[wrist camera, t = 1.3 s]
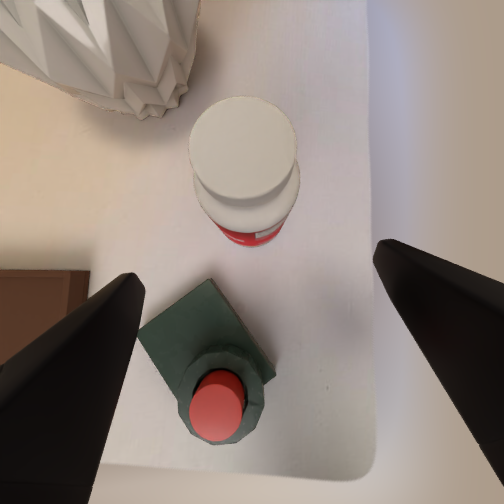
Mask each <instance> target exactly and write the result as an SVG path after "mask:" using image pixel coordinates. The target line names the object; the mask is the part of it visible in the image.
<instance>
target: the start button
mask: <svg viewBox="0 0 504 504" xmlns="http://www.w3.org/2000/svg"><path fill="white" fill-rule="evenodd" d="M243 405H244V388H243V385H242V383H241V381H240V380H239V378H238V377H237V376H236V375H235V374H233V373H232V372H229V371H226V370H216V371H213V372H211V373H209V374H208V375H206V376H205V377H204V378H203V380H202V381H201V383H200V385H199V387H198V389H197V391H196V393H195V395H194V396H193V398H192V400H191V403H190V408H189V417H190V421H191V424H192V426H193V428H194V430H195V431H196V432H197V433H198V434H199V435H200V436H201V437H203V438H204V439H207V440H210V441H222V440H225V439H227V438H229V437H230V436H232V435H233V434H234V433H235V432H236V430H237V429H238V427H239V425H240V423H241V420H242V413H243Z"/></svg>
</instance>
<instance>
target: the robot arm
mask: <svg viewBox="0 0 504 504" xmlns="http://www.w3.org/2000/svg"><path fill="white" fill-rule="evenodd" d="M373 263H374V266H375V268H376V270H377V272H378V274H379V277H380V279H381V281H382V283H383V285H384V287H385V289H386V292H387V294H388V296H389V298H390V300H391V301H392V303H393V305H394V306H395V308H396V310H397V311H398V313H399V315H400V316H401V318H402V320H403V321H404V323H405V325H406V326H407V328H408V329H409V331H410V333H411V334H412V336H413V338H414V339H415V341H416V343H417V344H418V346H419V348H420V349H421V351H422V353H423V354H424V356H425V357H426V359H427V361H428V362H429V364H430V366H431V367H432V369H433V371H434V372H435V374H436V376H437V377H438V379H439V380H440V382H441V384H442V386H443V387H444V389H445V390H446V392H447V394H448V395H449V397H450V399H451V400H452V402H453V404H454V405H455V407H456V409H457V410H458V412H459V414H460V415H461V417H462V418H463V420H464V422H465V423H466V425H467V427H468V428H469V430H470V431H471V433H472V435H473V437H474V438H475V440H476V442H477V443H478V444H479V447H480V449H481V450H482V452H483V453H484V455H485V457H486V458H487V460H488V462H489V463H490V465H491V467H492V468H493V470H494V472H495V473H496V475H497V477H498V478H499V480H500V481H501V483H502V484H503V486H504V284H503V283H501V282H499V281H496V280H494V279H491V278H489V277H486V276H484V275H481V274H479V273H476V272H474V271H471V270H469V269H466V268H464V267H462V266H459V265H457V264H454V263H452V262H449V261H447V260H444V259H442V258H439V257H437V256H434V255H432V254H429V253H427V252H424V251H422V250H419V249H417V248H414V247H412V246H409V245H407V244H405V243H402V242H400V241H397V240H394V239H385V240H380V241H379V242H378V244H377V247H376V250H375V253H374V255H373ZM144 298H145V287H144V285H143V284H142V282H141V281H140V279H139V278H138V276H137V275H136V274H135V273H132V272H131V273H124V274H121V275H119V276H118V277H117V278H115V279H114V280H113V281H111V282H110V283H109V284H107V285H106V286H105V287H104V288H102V289H101V290H100V291H98V292H97V293H96V294H94V295H93V296H92V297H90V298H89V299H88V300H86V301H85V302H84V303H82V304H81V305H80V306H78V307H77V308H76V309H74V310H73V311H72V312H70V313H69V314H68V315H66V316H65V317H64V318H62V319H61V320H60V321H58V322H57V323H56V324H55V325H53V326H52V327H51V328H49V329H48V330H47V331H45V332H44V333H43V334H41V335H40V336H39V337H37V338H36V339H35V340H33V341H32V342H31V343H29V344H28V345H27V346H25V347H24V348H23V349H21V350H20V351H19V352H17V353H16V354H15V355H13V356H12V357H11V358H10V359H8V360H7V361H6V362H5V363H3V364H1V365H0V504H88V501H89V498H90V495H91V492H92V488H93V487H92V486H93V484H94V481H95V477H96V474H97V470H98V467H99V464H100V460H101V457H102V453H103V450H104V447H105V443H106V440H107V436H108V433H109V430H110V426H111V423H112V419H113V416H114V413H115V409H116V406H117V402H118V399H119V396H120V392H121V389H122V385H123V382H124V379H125V375H126V372H127V368H128V365H129V362H130V358H131V355H132V351H133V348H134V345H135V341H136V338H137V334H138V330H139V326H140V320H141V315H142V309H143V303H144Z"/></svg>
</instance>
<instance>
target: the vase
mask: <svg viewBox="0 0 504 504" xmlns="http://www.w3.org/2000/svg"><path fill="white" fill-rule="evenodd" d="M200 8H201V0H0V63H2V64H4V65H6V66H9V67H11V68H13V69H15V70H18V71H20V72H22V73H24V74H27V75H29V76H31V77H33V78H36V79H38V80H40V81H42V82H45V83H47V84H49V85H51V86H54V87H56V88H58V89H60V90H62V91H64V92H66V93H68V94H70V95H71V96H73V97H75V98H78V99H80V100H82V101H85V102H87V103H90V104H92V105H94V106H97V107H99V108H101V109H104V110H106V111H109V112H114V111H119V112H121V113H122V114H129V113H130V114H134V115H135V116H136V117H137V118H138V119H139V120H143V119H144V118H146V117H147V116H149V115H152V116H155V117H159V118H161V117H162V116H163V114H164V113H165V111H166V109H169V108H177V107H178V105H179V96H181V95H182V94H184V93H185V92H187V91H188V85H187V81H188V77H189V74H190V71H191V67H192V64H193V61H194V59H195V54H196V34H197V22H198V17H199V15H200Z"/></svg>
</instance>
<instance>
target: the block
mask: <svg viewBox="0 0 504 504" xmlns="http://www.w3.org/2000/svg"><path fill="white" fill-rule="evenodd" d="M137 337H138V339H139V341H140V342H141V344H142V345H143V347H144V349H145V350H146V352H147V353H148V355H149V356H150V358H151V360H152V361H153V363H154V364H155V366H156V367H157V369H158V371H159V372H160V374H161V375H162V377H163V378H164V380H165V382H166V383H167V385H168V386H169V388H170V390H171V391H172V393H173V394H174V396H175V397H176V399H177V401H178V413H179V415H180V417H181V419H182V420H183V422H184V423H185V425H186V427H187V428H188V430H189V431H190V433H191V434H192V435H194V436H196V437H198V438H200V439H202V440H203V441H205V442H207V443H209V444H211V445H222V444H232V443H237V442H238V441H240V440H241V439H242V438H244V437H245V436H246V435H247V434H249V433H250V432H251V431H253V430H254V429H255V428H256V425H257V423H258V420H259V418H260V415H261V413H262V411H263V408H264V387H263V385H265V384H266V383H267V382H268V381H270V380H271V379H272V378H274V377H275V376H276V370H275V368H274V366H273V365H272V363H271V362H270V360H269V359H268V358H267V356H266V355H265V353H264V352H263V350H262V349H261V348H260V346H259V345H258V343H257V342H256V341H255V339H254V338H253V336H252V335H251V333H250V332H249V331H248V329H247V328H246V326H245V325H244V323H243V322H242V321H241V319H240V318H239V316H238V315H237V314H236V312H235V311H234V309H233V308H232V306H231V305H230V304H229V302H228V301H227V299H226V298H225V296H224V295H223V294H222V292H221V291H220V289H219V288H218V287H217V285H216V284H215V282H214V281H213V279H212V278H210V279H207V280H206V281H204V282H203V283H202V284H200V285H199V286H198V287H196V288H195V289H194V290H192V291H191V292H189V293H188V294H187V295H185V296H184V297H183V298H181V299H180V300H179V301H177V302H176V303H174V304H173V305H172V306H170V307H169V308H168V309H166V310H165V311H164V312H162V313H161V314H159V315H158V316H157V317H155V318H154V319H153V320H151V321H150V322H149V323H147V324H146V325H144V326H143V327H142V328H140V329H139V330H138V334H137ZM216 370H226V371H229V372H232V373H233V374H235V375H236V376H237V377H238V378H239V380H240V381H241V383H242V385H243V388H244V400H245V401H244V405H243V413H242V420H241V423H240V425H239V427H238V429H237V430H236V432H235V433H234V434H233V435H232V436H230V437H229V438H227V439H225V440H222V441H210V440H207V439H204V438H203V437H201V436H200V435H199V434H198V433H197V432H196V431H195V430H194V428H193V426H192V424H191V421H190V417H189V408H190V403H191V400H192V398H193V396H194V395H195V393H196V391H197V389H198V387H199V385H200V383H201V381H202V380H203V378H204V377H205V376H206V375H208V374H209V373H211V372H213V371H216Z"/></svg>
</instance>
